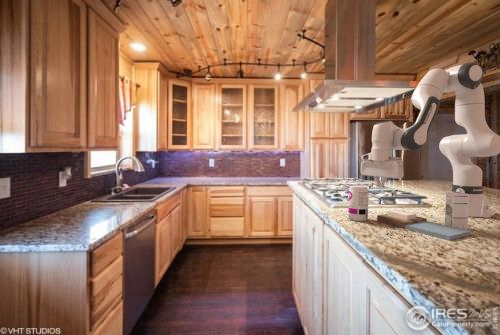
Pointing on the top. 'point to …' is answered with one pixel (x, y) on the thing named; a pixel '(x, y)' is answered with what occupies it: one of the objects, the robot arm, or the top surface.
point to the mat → (438, 230)
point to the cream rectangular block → (401, 214)
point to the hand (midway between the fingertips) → (380, 186)
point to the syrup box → (457, 210)
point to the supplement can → (358, 203)
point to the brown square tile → (398, 220)
